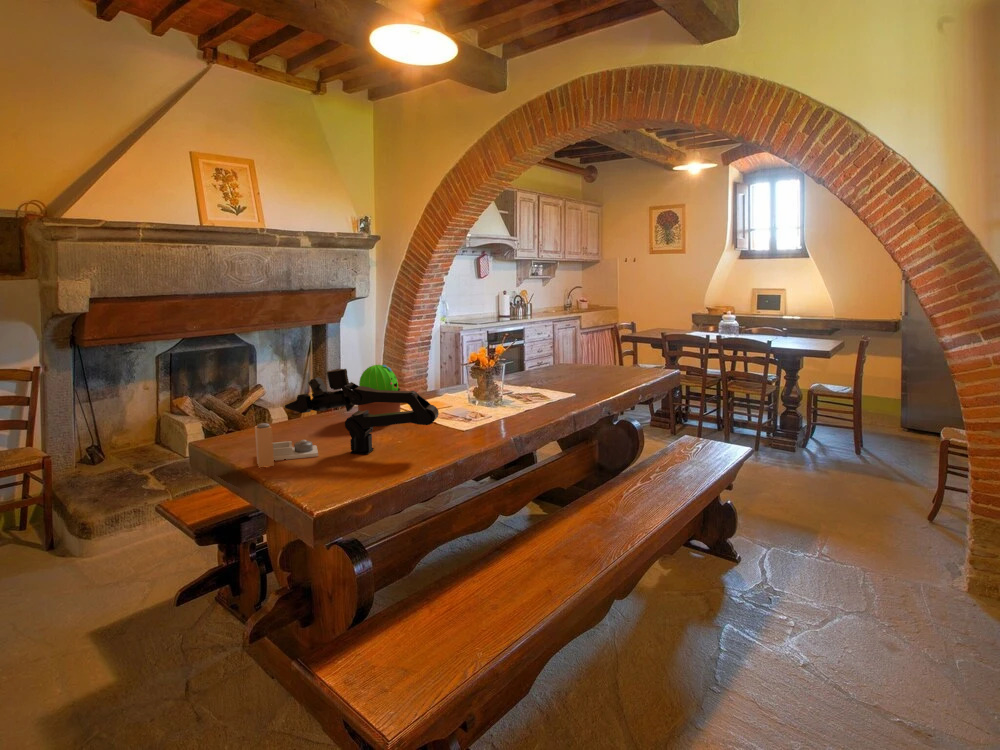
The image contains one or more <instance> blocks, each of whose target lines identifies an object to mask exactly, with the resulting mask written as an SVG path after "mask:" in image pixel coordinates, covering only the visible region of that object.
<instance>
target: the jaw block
mask: <svg viewBox="0 0 1000 750" xmlns="http://www.w3.org/2000/svg"><path fill="white" fill-rule="evenodd" d="M254 436H255V448H256V449H255V450H256V463H257V464H258V465H257V467H258V466H259V467H264V466H273V467H275V461H274V455H273V443H274V442H273V441H274V440H273V427H272V426H271V425H270V424H269V423H268V422H262V423H257V425H255V426H254ZM259 467H258V468H259Z"/></svg>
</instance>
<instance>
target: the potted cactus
mask: <svg viewBox="0 0 1000 750" xmlns="http://www.w3.org/2000/svg"><path fill="white" fill-rule="evenodd" d="M360 374H361V376H360V377H359V381H358V383H359V384H358V386H365V387H370V388H373V389H376V390H388V391H406V388H405V387H403V386H399V380H398V379H397V376H396V373H395V372H393V369H392V368H391V367H389V366H388V365H387V364H385V363H383V364H374V363H373V364H372V365H371V366H370V365H369V366H368V367H367V368H366V369H365V370H363V371H362V373H360ZM365 410H369V414H373V415H376V414H385V413H394V412H401V403H387V402H374V403H369V404H364V405H357V411H365Z"/></svg>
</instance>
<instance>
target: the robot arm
mask: <svg viewBox="0 0 1000 750" xmlns="http://www.w3.org/2000/svg"><path fill="white" fill-rule="evenodd" d="M326 376H327V380H328V381H327V382H328V385H329V388H330V389H332V390H333V391H332V390H331V391H328V390H327V387H326V385H325V383H324V380H323V378H321V377H315V378H312V379H310V380H309V381H308V385H309V387H310V388H311V390H312V392H313V393H311V395H310V394H308V393H303V394H297V396H296V400H294V401H292V402H289V403H287V404H285V405H284V409H286V410H290V411H294V412H296V413H297V412H298V413H299V414H304V413H305V414H306V413H310V412H312V411H315V412H322V411H323V412H325V411H328V410H330V409H335V408H341V407H345V409H346V412H350V411H352V409H353V407H354V406H358V405H364V404H369V403H374V402H387V403H400V404H407V405H408V406H409V407H410V409H411V410H407V411H406V410H405V411H400V412H394V413H385V414H376V415H373V414H369V410H365V411H358V410H357V411H356V412H354V413H352V414H351V415H350V416H349V417H347V418H346V419H345V422H344V427H345V429H346V430H347V431H348V432H349V436H350V454H351V455H353V454H354V455H368V453H369V454H370V453H371V452H373V451H372V450H373V449H374V450H375V448H374V447H373V437H372V436H373V434H372V432H373V429H374V427H375V428H376V427H382V426H383V427H385V426H390V425H391V426H394V425H402V424H415V425H419V426H420V425H421V426H430V425H432V424H433V423H434V422H435V421H436V420H437V418H439V417H438V416H439V414H440V413H439V409H438V408H437V407H436V406H435V405H434V404H431V403H430V402H429V401H428V400H426V399H425V398H424V397H422V395H420V394H419V393H418V392H417V391H416V390H405V391H388V390H376V389H373V388H370V387H365V386H359V384H357V383H354V382H353V381H350V382H349V377H348V369H347V368H336V369H330V370H327V371H326ZM311 396H312V397H311ZM311 398H312V399H311Z"/></svg>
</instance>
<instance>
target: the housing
mask: <svg viewBox="0 0 1000 750" xmlns="http://www.w3.org/2000/svg"><path fill="white" fill-rule="evenodd" d="M273 455H274V460H275V461H284V459H286V460H295V459H304V458H305V459H306V458H314V457H319V451H318V447H317V444H316V445H315V444H314V445H313V442H312V441H311V440H307V439H301V440H299V441H296V442H294V446H293V442H292V440H288V441H279V442H278V441H277V442H273Z"/></svg>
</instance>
